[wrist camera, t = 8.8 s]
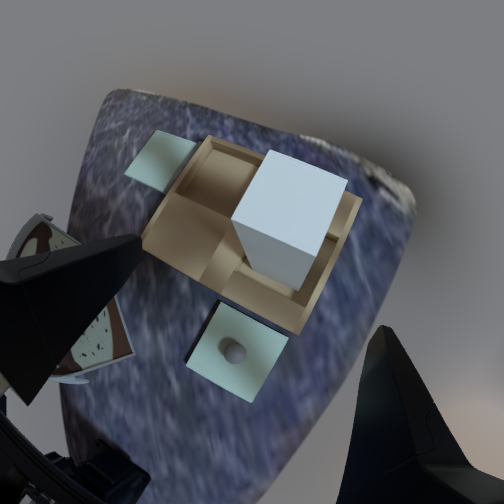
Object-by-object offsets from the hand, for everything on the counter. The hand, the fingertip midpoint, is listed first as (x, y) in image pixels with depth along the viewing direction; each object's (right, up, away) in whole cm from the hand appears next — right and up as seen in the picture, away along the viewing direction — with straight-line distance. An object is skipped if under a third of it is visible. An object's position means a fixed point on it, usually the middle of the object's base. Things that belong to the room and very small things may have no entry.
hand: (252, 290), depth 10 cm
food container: (-15, -5, +14) cm, 21 cm away
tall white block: (+3, +1, +14) cm, 14 cm away
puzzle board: (-5, +2, +15) cm, 16 cm away
